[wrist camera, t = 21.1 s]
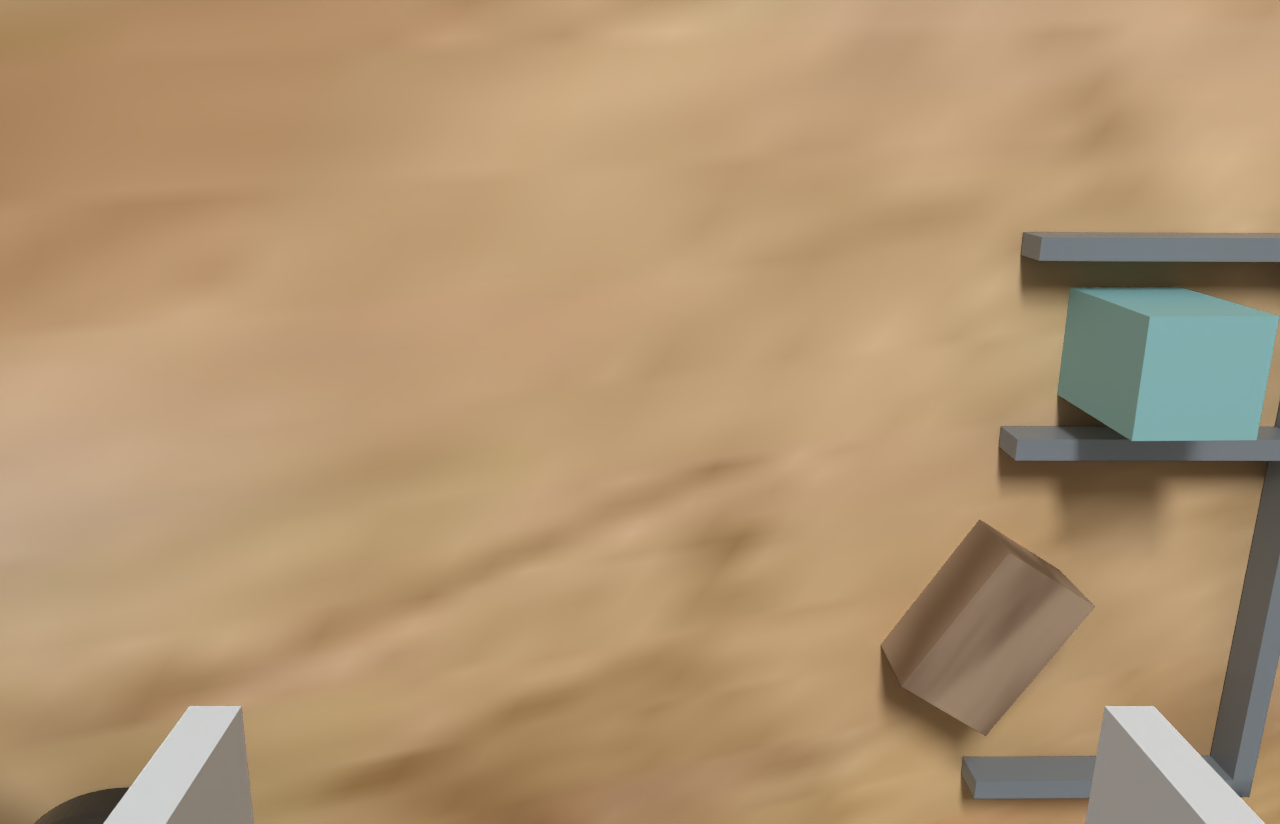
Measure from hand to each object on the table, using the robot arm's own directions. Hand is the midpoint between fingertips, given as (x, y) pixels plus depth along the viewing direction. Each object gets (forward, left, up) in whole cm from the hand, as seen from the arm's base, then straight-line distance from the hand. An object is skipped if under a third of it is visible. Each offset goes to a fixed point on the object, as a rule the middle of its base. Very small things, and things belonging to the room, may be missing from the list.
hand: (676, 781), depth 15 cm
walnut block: (+18, -15, -29) cm, 37 cm away
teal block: (+22, 0, -31) cm, 38 cm away
